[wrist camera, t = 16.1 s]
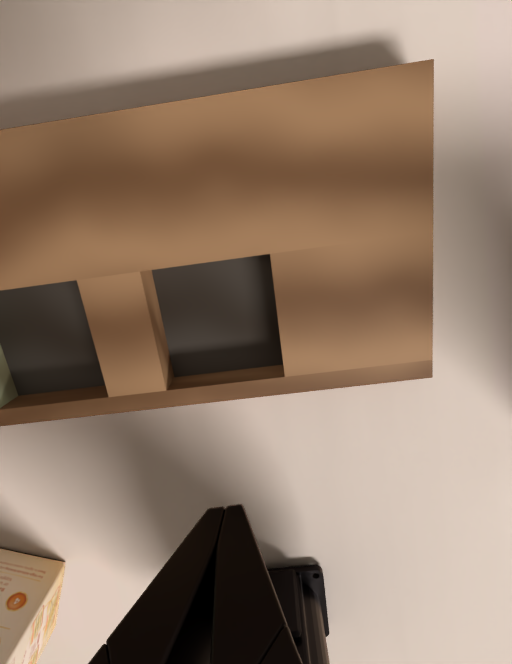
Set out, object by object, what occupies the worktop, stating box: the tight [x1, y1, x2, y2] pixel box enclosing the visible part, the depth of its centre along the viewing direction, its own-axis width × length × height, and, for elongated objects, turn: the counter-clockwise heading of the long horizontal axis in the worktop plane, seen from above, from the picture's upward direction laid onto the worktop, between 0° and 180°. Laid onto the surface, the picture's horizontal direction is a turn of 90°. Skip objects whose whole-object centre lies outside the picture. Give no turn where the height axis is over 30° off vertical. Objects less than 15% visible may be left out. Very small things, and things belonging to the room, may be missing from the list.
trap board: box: [0, 59, 434, 426], centre depth 17 cm, size 14×31×5 cm, turn 98°
